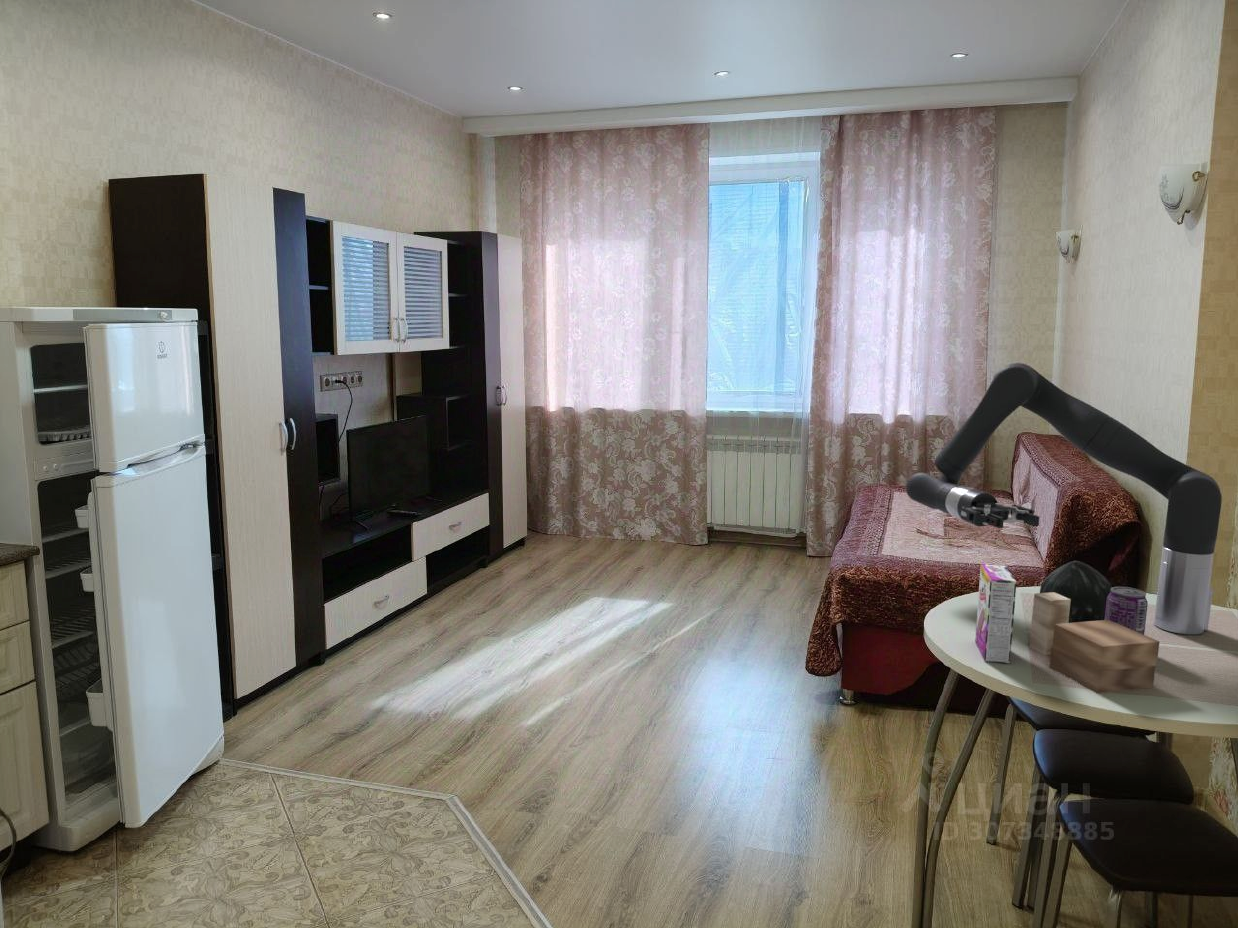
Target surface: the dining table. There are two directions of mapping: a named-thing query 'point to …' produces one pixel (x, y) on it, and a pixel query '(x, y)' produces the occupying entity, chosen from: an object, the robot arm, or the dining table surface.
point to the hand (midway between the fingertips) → (1020, 522)
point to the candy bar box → (995, 613)
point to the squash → (1080, 590)
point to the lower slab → (1101, 674)
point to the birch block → (1047, 619)
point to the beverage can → (1127, 608)
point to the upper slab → (1105, 645)
